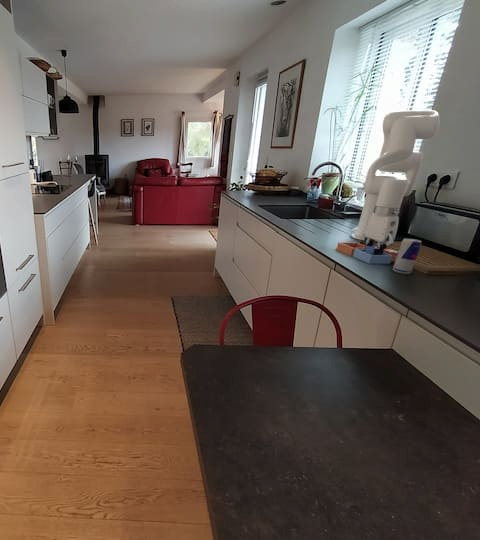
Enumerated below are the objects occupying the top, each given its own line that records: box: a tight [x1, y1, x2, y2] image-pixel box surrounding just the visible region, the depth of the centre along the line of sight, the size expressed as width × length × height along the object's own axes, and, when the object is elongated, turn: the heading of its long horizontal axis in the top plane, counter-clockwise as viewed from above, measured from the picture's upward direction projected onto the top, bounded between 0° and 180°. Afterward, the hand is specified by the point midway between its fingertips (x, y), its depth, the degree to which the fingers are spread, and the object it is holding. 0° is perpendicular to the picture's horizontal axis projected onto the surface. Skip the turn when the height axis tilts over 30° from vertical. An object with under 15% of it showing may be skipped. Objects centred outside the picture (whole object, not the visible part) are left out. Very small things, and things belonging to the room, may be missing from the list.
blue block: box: [365, 245, 377, 255], centre depth 131 cm, size 4×4×4 cm
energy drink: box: [392, 237, 423, 275], centre depth 117 cm, size 5×5×12 cm
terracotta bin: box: [336, 241, 366, 257], centre depth 141 cm, size 9×9×3 cm
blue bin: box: [352, 249, 393, 265], centre depth 131 cm, size 9×9×3 cm
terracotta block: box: [383, 248, 399, 263], centre depth 132 cm, size 4×4×4 cm
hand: (372, 255), depth 131 cm, fingers closed on blue block, 4 cm apart
